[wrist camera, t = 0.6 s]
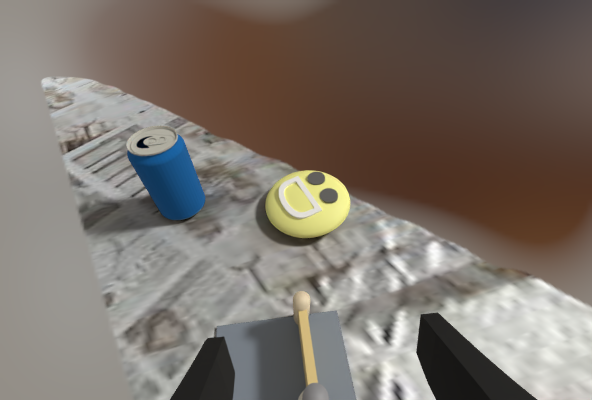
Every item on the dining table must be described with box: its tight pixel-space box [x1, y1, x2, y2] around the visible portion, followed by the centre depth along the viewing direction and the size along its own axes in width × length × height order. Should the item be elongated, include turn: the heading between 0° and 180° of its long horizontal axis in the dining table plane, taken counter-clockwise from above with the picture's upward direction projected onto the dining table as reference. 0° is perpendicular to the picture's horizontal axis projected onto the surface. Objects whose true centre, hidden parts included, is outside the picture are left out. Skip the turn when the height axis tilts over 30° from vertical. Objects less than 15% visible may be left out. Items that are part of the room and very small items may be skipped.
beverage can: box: [126, 126, 205, 220], centre depth 36 cm, size 6×6×12 cm
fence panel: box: [293, 291, 329, 400], centre depth 25 cm, size 9×2×5 cm, turn 7°
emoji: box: [265, 171, 350, 238], centre depth 39 cm, size 4×12×12 cm
